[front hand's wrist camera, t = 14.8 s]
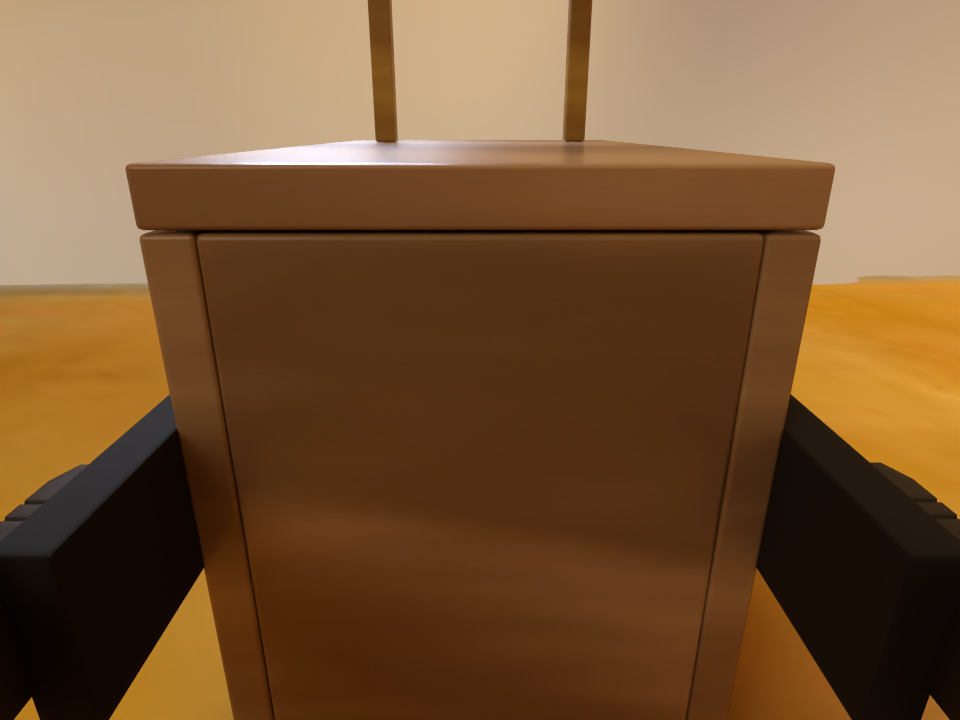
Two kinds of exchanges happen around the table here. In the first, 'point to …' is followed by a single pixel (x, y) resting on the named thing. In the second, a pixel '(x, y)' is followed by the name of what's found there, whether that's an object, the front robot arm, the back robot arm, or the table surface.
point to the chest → (480, 461)
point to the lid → (480, 176)
